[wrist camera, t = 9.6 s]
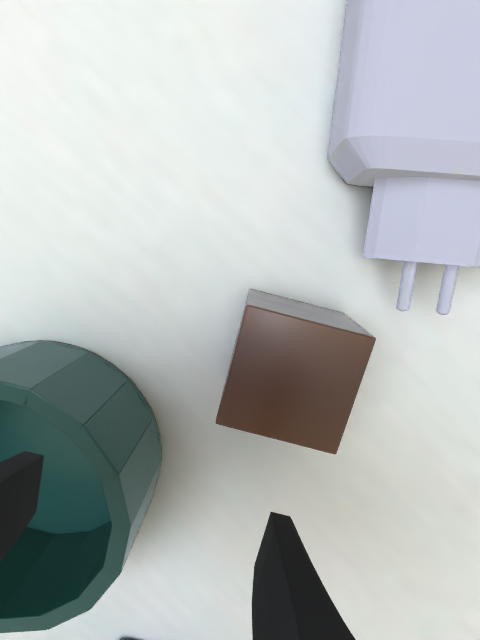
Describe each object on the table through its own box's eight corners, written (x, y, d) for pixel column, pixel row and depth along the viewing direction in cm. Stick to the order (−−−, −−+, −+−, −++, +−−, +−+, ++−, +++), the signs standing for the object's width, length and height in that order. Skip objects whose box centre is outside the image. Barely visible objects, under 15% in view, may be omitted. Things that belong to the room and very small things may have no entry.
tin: (138, 561, 22) (101, 661, 17) (-60, 509, 22) (-161, 594, 17) (182, 373, 19) (154, 421, 14) (-43, 315, 19) (-156, 341, 14)
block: (316, 402, 19) (336, 455, 14) (225, 378, 19) (214, 424, 14) (345, 313, 18) (377, 338, 13) (249, 288, 18) (246, 304, 13)
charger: (307, 295, 18) (351, -61, 15) (494, 311, 18) (577, -48, 15) (324, 312, 14) (392, -194, 11) (576, 334, 13) (722, -180, 10)
